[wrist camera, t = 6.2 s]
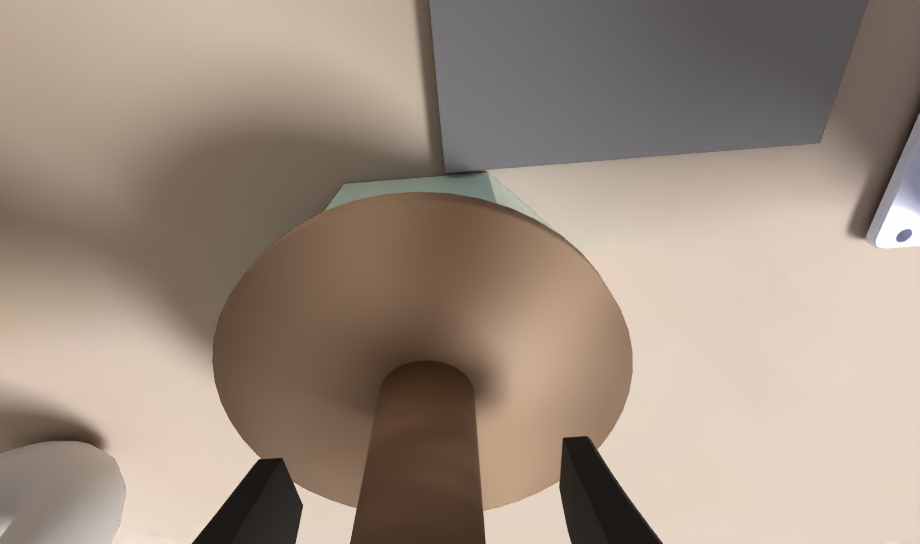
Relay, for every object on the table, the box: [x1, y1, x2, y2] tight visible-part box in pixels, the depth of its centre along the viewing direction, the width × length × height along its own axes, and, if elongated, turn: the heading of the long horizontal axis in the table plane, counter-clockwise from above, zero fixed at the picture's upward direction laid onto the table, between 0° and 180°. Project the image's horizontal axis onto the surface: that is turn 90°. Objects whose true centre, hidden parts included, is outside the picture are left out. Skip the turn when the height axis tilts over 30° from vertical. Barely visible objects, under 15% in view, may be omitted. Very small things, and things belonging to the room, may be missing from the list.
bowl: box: [324, 172, 556, 232], centre depth 15 cm, size 12×12×4 cm
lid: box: [212, 192, 632, 544], centre depth 11 cm, size 12×12×5 cm
